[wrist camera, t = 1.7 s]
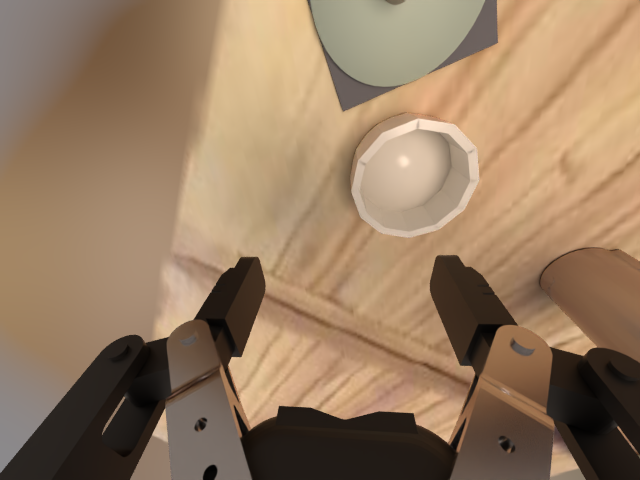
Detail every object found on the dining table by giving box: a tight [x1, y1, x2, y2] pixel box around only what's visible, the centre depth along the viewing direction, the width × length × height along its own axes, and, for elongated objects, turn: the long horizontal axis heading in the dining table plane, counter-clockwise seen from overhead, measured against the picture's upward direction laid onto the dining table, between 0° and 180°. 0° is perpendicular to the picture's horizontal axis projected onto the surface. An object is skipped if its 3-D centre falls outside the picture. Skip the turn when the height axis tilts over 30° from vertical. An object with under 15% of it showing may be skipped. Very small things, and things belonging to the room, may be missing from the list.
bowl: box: [350, 113, 479, 238], centre depth 27 cm, size 12×12×6 cm
